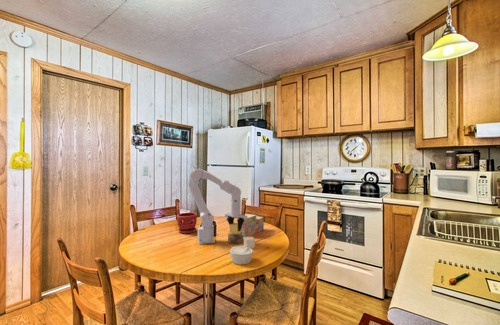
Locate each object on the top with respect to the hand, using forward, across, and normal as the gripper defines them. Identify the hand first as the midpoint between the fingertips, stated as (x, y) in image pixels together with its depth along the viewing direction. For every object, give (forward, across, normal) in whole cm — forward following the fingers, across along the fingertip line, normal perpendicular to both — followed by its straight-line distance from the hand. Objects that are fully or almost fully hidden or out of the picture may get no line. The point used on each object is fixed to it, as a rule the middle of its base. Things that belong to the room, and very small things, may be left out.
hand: (235, 229), depth 148 cm
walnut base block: (+7, 0, 0) cm, 7 cm away
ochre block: (+2, 0, 0) cm, 2 cm away
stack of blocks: (+7, 0, +20) cm, 21 cm away
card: (+7, +9, -10) cm, 15 cm away
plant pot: (+7, -39, 0) cm, 40 cm away
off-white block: (+7, +12, -4) cm, 14 cm away
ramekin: (+7, +17, -23) cm, 29 cm away
